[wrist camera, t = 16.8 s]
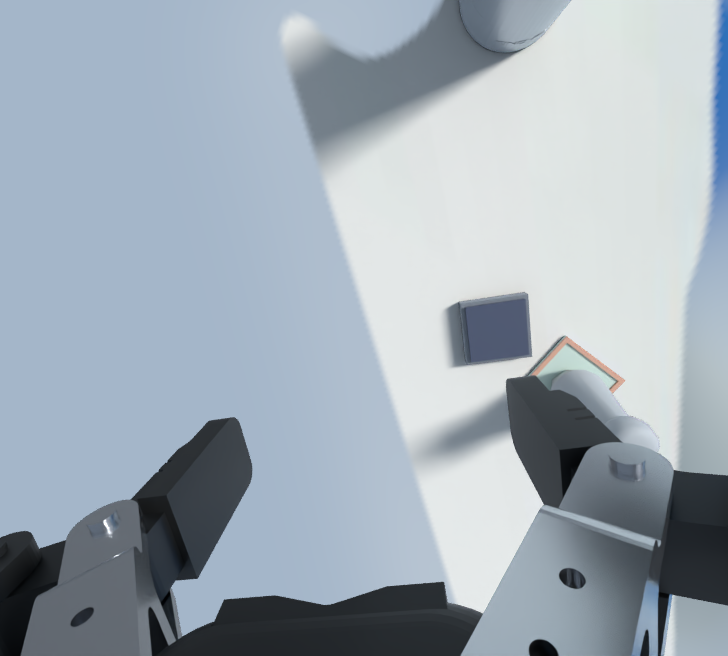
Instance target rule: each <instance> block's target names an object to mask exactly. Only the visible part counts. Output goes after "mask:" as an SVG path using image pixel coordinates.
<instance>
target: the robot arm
mask: <svg viewBox="0 0 728 656" xmlns="http://www.w3.org/2000/svg"><path fill="white" fill-rule="evenodd" d="M570 1H571V0H459V5H460V13H461V17H462V20H463V23H464V25H465V27H466V29H467V31H468V33H469V34H470V35H471V36H472V38H473V39H474V40H475V41H476V42H477V43H479V44H480V45H481V46H483V47H484V48H487V49H489V50H492V51H496V52H503V53H504V52H514V51H517V50H520V49H523V48H526V47H527V46H529V45H531V44H533V43H534V42H536V41H537V40H538V39H539V38H540V37H541V36H542V35H544V34H545V32H546V31H547V30H548V29H549V27H550V26H551V25H552V24H553V22H554V21H555V20H556V19H557V17H558V16H559V15H560V14H561V12H562V11H563V10H564V9H565V8H566V6H567V5H568V4H569V3H570ZM506 391H507V400H508V410H509V419H510V428H511V435H512V439H513V443H514V446H515V449H516V452H517V454H518V456H519V458H520V460H521V461H522V463H523V465H524V467H525V469H526V471H527V473H528V475H529V477H530V479H531V481H532V483H533V484H534V486H535V488H536V490H537V492H538V494H539V496H540V498H541V500H542V502H543V504H544V505H543V506H542V507H541V508H540V510H539V512H538V513H537V515H536V517H535V519H534V521H533V523H532V525H531V526H530V528H529V530H528V532H527V534H526V536H525V538H524V539H523V541H522V543H521V545H520V547H519V549H518V550H517V552H516V554H515V556H514V558H513V560H512V562H511V563H510V565H509V567H508V569H507V571H506V573H505V574H504V576H503V578H502V580H501V582H500V584H499V586H498V587H497V589H496V591H495V593H494V595H493V597H492V598H491V600H490V602H489V604H488V606H487V608H486V610H485V611H484V613H480V612H478V611H476V610H474V609H470V608H467V607H464V606H461V605H457V604H452V603H448V602H447V596H446V591H445V585H444V582H436V583H423V584H411V585H399V586H387V587H384V588H381V589H378V590H375V591H372V592H369V593H365V594H362V595H359V596H356V597H353V598H350V599H347V600H344V601H341V602H338V603H335V604H331V605H321V604H316V603H311V602H306V601H301V600H295V599H290V598H285V597H280V596H263V597H251V598H239V599H227V600H224V601H223V603H222V606H221V608H220V610H219V613H218V614H217V617H216V619H215V621H214V622H212V623H209V624H206V625H204V626H202V627H200V628H197V629H195V630H194V631H192V632H190V633H188V634H186V635H184V636H183V637H182V633H181V627H180V622H179V617H178V611H177V605H176V600H175V596H174V594H173V591H172V589H171V587H172V585H173V583H174V582H175V580H186V579H197V578H198V577H199V575H200V573H201V571H202V570H203V568H204V566H205V564H206V562H207V561H208V559H209V557H210V555H211V553H212V551H213V549H214V547H215V546H216V544H217V542H218V540H219V539H220V537H221V535H222V533H223V531H224V530H225V528H226V526H227V524H228V522H229V520H230V519H231V517H232V515H233V513H234V511H235V509H236V508H237V506H238V504H239V502H240V501H241V499H242V497H243V495H244V493H245V491H246V490H247V488H248V486H249V484H250V482H251V478H252V463H251V459H250V456H249V452H248V449H247V446H246V443H245V439H244V436H243V433H242V429H241V426H240V423H239V421H238V420H237V419H236V418H234V417H233V418H225V419H218V420H211V421H208V422H207V423H206V424H205V426H204V427H203V428H202V429H201V430H200V431H199V432H198V433H197V434H196V435H195V436H194V438H193V439H192V440H191V441H190V442H188V443H187V444H185V445H184V446H182V447H181V448H179V449H178V450H177V451H176V452H175V453H174V454H173V455H172V456H171V458H170V459H169V460H168V462H167V463H165V464H164V465H163V466H162V467H161V468H160V469H159V472H157V473H155V474H154V475H153V477H152V478H151V479H150V480H149V481H148V482H147V483H146V484H145V485H144V486H143V487H142V488H141V489H140V490H139V492H137V493H136V495H135V496H134V497H133V498H132V499H131V500H122V501H117V502H114V503H111V504H108V505H106V506H103V507H102V508H99V509H97V510H96V511H94V512H92V513H91V514H89V515H88V516H86V517H85V518H83V519H82V520H81V521H80V522H78V523H77V524H76V525H75V526H74V527H73V528H72V530H71V531H70V532H69V534H68V536H67V539H66V540H65V541H62V542H59V543H56V544H52V545H49V546H46V547H43V548H40V549H39V547H38V546H37V543H36V541H35V539H34V537H33V535H32V534H31V533H30V532H28V531H21V532H16V533H12V534H9V535H6V536H3V537H1V538H0V656H664V652H665V645H666V637H667V630H668V623H669V615H670V608H671V601H672V595H677V596H682V597H687V598H692V599H698V600H703V601H708V602H713V603H718V604H723V605H728V476H726V475H713V474H701V473H689V472H681V471H676V470H673V467H672V465H671V463H670V462H669V461H668V460H667V459H666V458H665V457H663V456H662V455H661V454H659V453H657V452H655V451H653V450H651V449H649V448H646V447H643V446H640V445H635V444H630V443H623V442H622V441H621V440H620V439H619V438H617V437H616V436H615V435H614V434H613V433H612V432H611V431H610V430H609V429H608V428H607V427H606V426H605V425H604V424H603V423H602V422H601V421H600V420H599V419H598V418H595V415H594V414H593V413H592V412H591V411H590V410H589V409H587V408H586V406H585V405H584V404H583V403H582V402H581V401H580V400H579V399H578V398H577V397H575V396H573V395H571V394H568V393H566V392H564V391H562V390H552V391H549V390H548V389H547V387H546V386H545V385H544V384H543V383H542V382H541V381H540V380H539V379H538V377H537V376H535V375H531V376H524V377H517V378H510V379H507V381H506Z"/></svg>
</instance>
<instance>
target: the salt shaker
mask: <svg viewBox="0 0 728 656" xmlns="http://www.w3.org/2000/svg"><path fill="white" fill-rule="evenodd" d="M552 390H562V391H564V392H566V393H568V394H571V395H573V396H575V397H577V398H578V399H579V400H580V401H581V402H582V403H583V404H584V405H585V406H586V408H587V409H589V410H590V411H591V412H592V413H593V414H594V415H595V418H598V419H599V420H600V421H601V422H602V423H603V424H604V425H605V426H606V427H607V428H608V429H609V430H610V431H611V432H612V433H613V434H614V435H615V436H616V437H617V438H619V439H620V440H621V441H622V442H623V443H630V444H635V445H640V446H643V447H646V448H649V449H651V450H653V451H655V452H658V450H659V448H660V444H659V437H658V436H657V435H656V433H655V432H654V431H653V429H652V428H651V427H650V426H649V424H647V423H646V422H644V421H642V420H640V419H638V418H635V417H633V416H629V415H628V414H627V413H626V411H625V410H624V409H623V407H622V406H621V405H620V403H619V402H618V401H617V399H616V398H615V397H614V395H613V394H612V392H611V391H610V390H609V388H608V387H607V386H606V384H605V383H604V382H603V380H602V379H601V378H600V376H599V375H596V374H594V373H592V372H589V371H587V370H565V371H563V372H562V373H561V374H559V375H558V376H556V377H555V378H553V379H552V385H551V390H550V391H552Z"/></svg>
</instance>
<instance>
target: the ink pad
mask: <svg viewBox="0 0 728 656" xmlns="http://www.w3.org/2000/svg"><path fill="white" fill-rule="evenodd" d="M459 307H460V317H461V326H462V335H463V344H464V353H465V361H466V363H467V365H470V364H478V363H486V362H494V361H501V360H509V359H517V358H525V357H532V348H531V332H530V317H529V301H528V294H527V293H525V292H522V293H515V294H509V295H502V296H495V297H488V298H481V299H475V300H468V301H461V302H459Z"/></svg>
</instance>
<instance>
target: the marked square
mask: <svg viewBox="0 0 728 656" xmlns="http://www.w3.org/2000/svg"><path fill="white" fill-rule="evenodd" d="M565 370H587V371H589V372H592V373H594V374H596V375H599V376H600V378H601V379H602V380H603V382H604V383H605V384H606V386H607V387H608V388H609V390H610V391H611V392H612V393H613V392H614V391H615V390H616V389H618V388H619V387H620V386H621V385H622V384H623V383H624V382H625V380H624V379H623V378H621V377H620V376H619V375H617V374H616V373H615V372H613V371H612V370H611V369H609V368H608V367H607V366H605V365H604V364H603V363H601V362H600V361H599V360H597V359H596V358H595V357H593V356H592V355H591V354H589V353H588V352H587V351H585V350H584V349H583V348H581V347H580V346H579V345H577V344H576V343H575V342H573V341H572V340H571V339H569V338H568V337H567V336H564V337H563V338H562V339H561V340H560V341H559V342H558V344H557V345H556V346H555V347H554V348H553V349H552V350H551V351H550V352H549V353H548V354H547V355H546V357H545V358H544V359H543V360H542V361H541V362H540V363H539V364H538V365H537V366H536V367H535V369H534V370H533V371H532V372H531V373H530V374H529V375H528V376H531V375H535V376H537V377H538V379H539V380H540V381H541V382H542V383H543V384H544V385H545V386H546V387H547V389H548V390H549V391H550V390H551V385H552V379H553V378H555V377H556V376H558V375H559V374H561V373H562V372H563V371H565Z"/></svg>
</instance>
